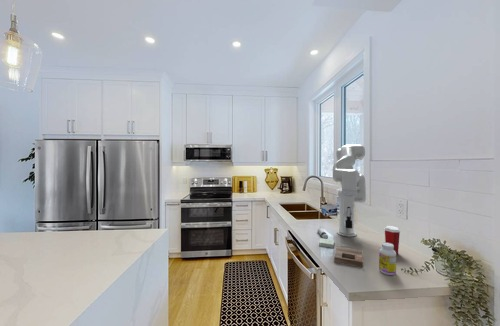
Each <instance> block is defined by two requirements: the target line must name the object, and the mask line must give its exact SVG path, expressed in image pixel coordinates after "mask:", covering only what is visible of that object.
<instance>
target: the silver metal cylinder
mask: <svg viewBox="0 0 500 326" xmlns="http://www.w3.org/2000/svg"><path fill="white" fill-rule="evenodd" d="M344 227H346V217H344ZM352 228H353V218H352Z"/></svg>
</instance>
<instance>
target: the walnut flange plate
mask: <svg viewBox="0 0 500 326" xmlns="http://www.w3.org/2000/svg"><path fill="white" fill-rule="evenodd" d="M363 256H364V255H363V250H362V249H359V248H358V249H356V248H351V247H344V246H340V245H339V246H338V245H337V246H336V248H335V252H334V257H333V263H337V264H341V265H348V266H353V267H360V268H364V258H363Z"/></svg>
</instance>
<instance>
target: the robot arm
mask: <svg viewBox="0 0 500 326" xmlns="http://www.w3.org/2000/svg"><path fill="white" fill-rule="evenodd" d="M335 155H336V156H335V157H336V160H337V161H336V162H334V165H333V166H332V180H333V181H334V182H336V183H340V185H341V188H340V189H339V190H338V193H337V196H338V197H337V198H338V206H339V207H338V209H339V210H338V212H339V213H338V215H339V216H338V223H339V224H338V226H339V227H338V229H337V230H336V233H337V234H338V235H339V236H344V237H348V238H349V237H351V238H352V237H356V236H357V232H356V231H355V204H364V203H366V200H367V196H366V195H367V194H366V190H367V189H366V177H365V174H364V175H363V174H362V173H360V172H359V171H358V169H354V167H353V166H354V165H355V164H356V161H362V160H363V159H364V158H365V156H366V149H365V147H364V145H362V144H345V145H343V146H341V148H338V149H337V151H336V153H335ZM344 217H346V227H344ZM352 218H353V228H352Z"/></svg>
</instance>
